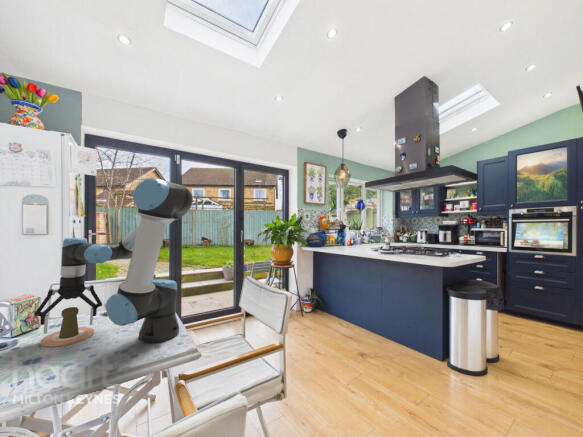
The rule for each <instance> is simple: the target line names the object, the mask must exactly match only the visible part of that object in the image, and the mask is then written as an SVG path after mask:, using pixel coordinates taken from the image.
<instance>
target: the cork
mask: <svg viewBox="0 0 583 437" xmlns="http://www.w3.org/2000/svg"><path fill="white" fill-rule="evenodd" d="M79 310H80V309H79V307H77V306H70V307H65V308H64V309H62V311H61V313H60V314H61V317H62V321H61V326H60V329H59V331H60V334H59V338H60V339H66V338H71V337H74V336H76V335H78V334H79V330H78V328H79V324H78V322H79V321H78V317H77V315H78V314H79V312H80V311H79Z"/></svg>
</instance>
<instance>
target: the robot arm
mask: <svg viewBox="0 0 583 437" xmlns="http://www.w3.org/2000/svg"><path fill="white" fill-rule="evenodd" d="M132 200H133V201H134V202H133V203H134V205H135V206H136V207H137V214H138V215H139V217H140V221H139V225H137V227H136V228H134V229H133V230H132V231H131V232H129V234H127V235H126V236H125V237H123V239H121V240H119V241H118V242H108V243H105V242H103V243H88V239H87V238H85V237H66V238H64V239H63V241H62V242H63V243H62V247H61V263H60V264H61V265H60V274H59V275H60V277H59V278H60V279H59V288H58V289H52V288H50V289H48V292H47V295H46V297H45V298H44V300H43V301H42V302H41V303H40V305H39V306H38V308H36V311H35V312H34V313H33V316H34V317H40V323H39V324H40V325H41V326H44V327H43V335H45V334H47V333H48V328H49V326H48V324H49V314H48V313H49V312H50V311H52V310H53V309H54V308H55V307H56V306H57V305H58V304H59V303H61V301H62V300H66V301H67V300H70V299H72V300H73V299H77V298H80V299H81V300H83V301H84V302H85V303H86V304H88V305H89V306H90V315H89V317H90V318H89V326H93V323H94V322H93V319H94V317H96V316H97V310H98V308H99V307H102V306H103V302H102V301H101V298H100V296H99V295H98V294H97V293H96V291H95V287H94V285H93V284H90V285H88V286H87V285H86V286H85V282H86V281H85V280H86V275H85V274H86V269H87V268H86V267H87V266H86V264H87V263H89V264H104V263H106V262H110V261H116V260H117V261H118V260H127V259H128V260H129V259H130V261H129V263H128V264H129V265H128V269H127V273H126V276H125V280H124V281H122V282H121V283H120V284H119V285H118V288H117V292H116V293H114V294H112V295H111V296H109V297H108V298H107V300H106V302H105V303H106V309H105V310H106V311H105V312H106V314H107V316H108V318H109V320H110V322H112V323H113V324H114V325H117V326H119V327H124V326H127V325H131V324H134V323H136V322H138V321H140V320H142V319H144V320H143V322H142V323H141V327H140V329H139V331H138V340H139V341H140V342H142V343H147V344H152V343H161V342H166V341H168V340H171V339H173V338H175V337H176V336H178V334H179V333H180V324H179V322H178V318H177V314H176V310H177V296H178V283H177V282H176V281H175V280H171V279H154V276H155V271H156V267H157V263H158V260H159V256H160V252H161V248H162V244H163V240H164V236H165V232H166V229H167V226H169V225H170V224H172V223H173V222H174V221H177V220H180V219H182V218H183V217H184V216H185V215H186V214H187V213H188V212H189V211H190V210H191V208H192V206H193V204H194V203H193V202H194V200H193V194H192V192H191V190H190V189H189V188H188V187H187V186H184V185H182V184H179V183H174V182H171V181H168V180H164V179H162V178H161V179H160V178H155V177H150V178H145V179H143V180H142V181H140V182H139V183H138V184H137V185H136V186H135V188H134V191H133V194H132ZM86 290H87V291H88V292H90V293H91V296H92V297H93V299H94V300H95V302H96V303H95V302H94V301H93V300H91V299H90V298H89V297H88V296H87V295H85V294H84V292H85V291H86ZM56 293H57V294H58V295H59V296H58V297H57V298H56V299H55V300H54V301H53V302H52V303H51V304H50V305H49V306H48V307H46V308H45V306H46V305H47V303H48V302H49V301H50V300H51V297H52V296H54V295H56ZM44 308H45V309H44ZM43 309H44V310H43ZM42 310H43V311H42Z"/></svg>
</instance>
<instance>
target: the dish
mask: <svg viewBox="0 0 583 437" xmlns="http://www.w3.org/2000/svg"><path fill="white" fill-rule="evenodd" d="M78 330H79V334H78V335H76V336H74V337H71V338H66V339H60V338H59V334H60V330H59V331H55V332H53V333H50V334H48V335H46V336H44V337H42V338H41V339H40V341H39V346H41V347H43V348H59V347H64V346H69V345H73V344H74V345H75V344H77V343H79V342H82V341H83V342H84V341H85V340H88V339H90V338H91V337H92V336H94V334H95V330H94V328H92V327H89V326H88V327H87V326H86V327H85V326H84V327H78Z"/></svg>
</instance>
